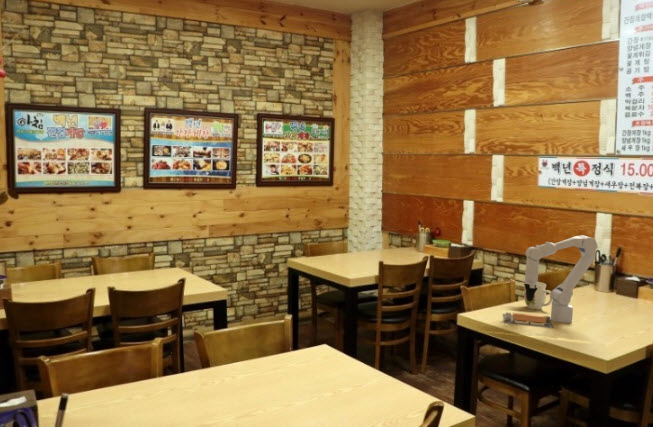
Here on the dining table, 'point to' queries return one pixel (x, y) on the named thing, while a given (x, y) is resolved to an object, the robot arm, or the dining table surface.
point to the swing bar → (531, 318)
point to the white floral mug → (538, 297)
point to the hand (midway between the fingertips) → (529, 299)
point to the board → (509, 320)
